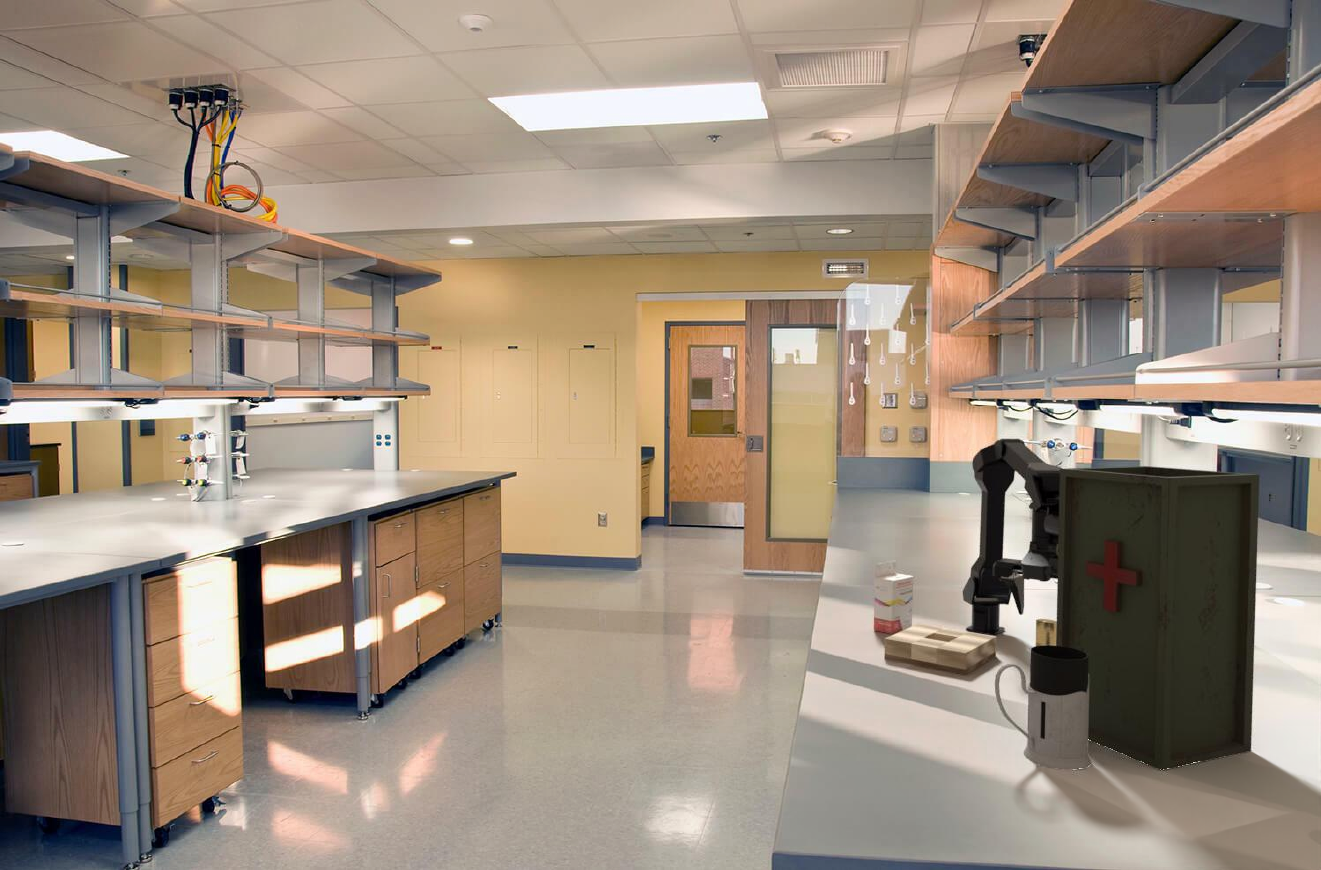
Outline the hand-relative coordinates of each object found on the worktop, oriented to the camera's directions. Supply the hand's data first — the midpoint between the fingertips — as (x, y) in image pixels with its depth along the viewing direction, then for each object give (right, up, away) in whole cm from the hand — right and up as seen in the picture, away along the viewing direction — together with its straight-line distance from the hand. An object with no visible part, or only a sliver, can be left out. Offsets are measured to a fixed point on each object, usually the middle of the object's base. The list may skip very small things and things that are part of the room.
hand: (1046, 618), depth 171 cm
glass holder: (-19, -11, -43) cm, 49 cm away
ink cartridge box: (-21, -9, +30) cm, 37 cm away
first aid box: (0, -11, -35) cm, 37 cm away
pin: (0, -10, 0) cm, 10 cm away
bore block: (-18, -9, +7) cm, 21 cm away
